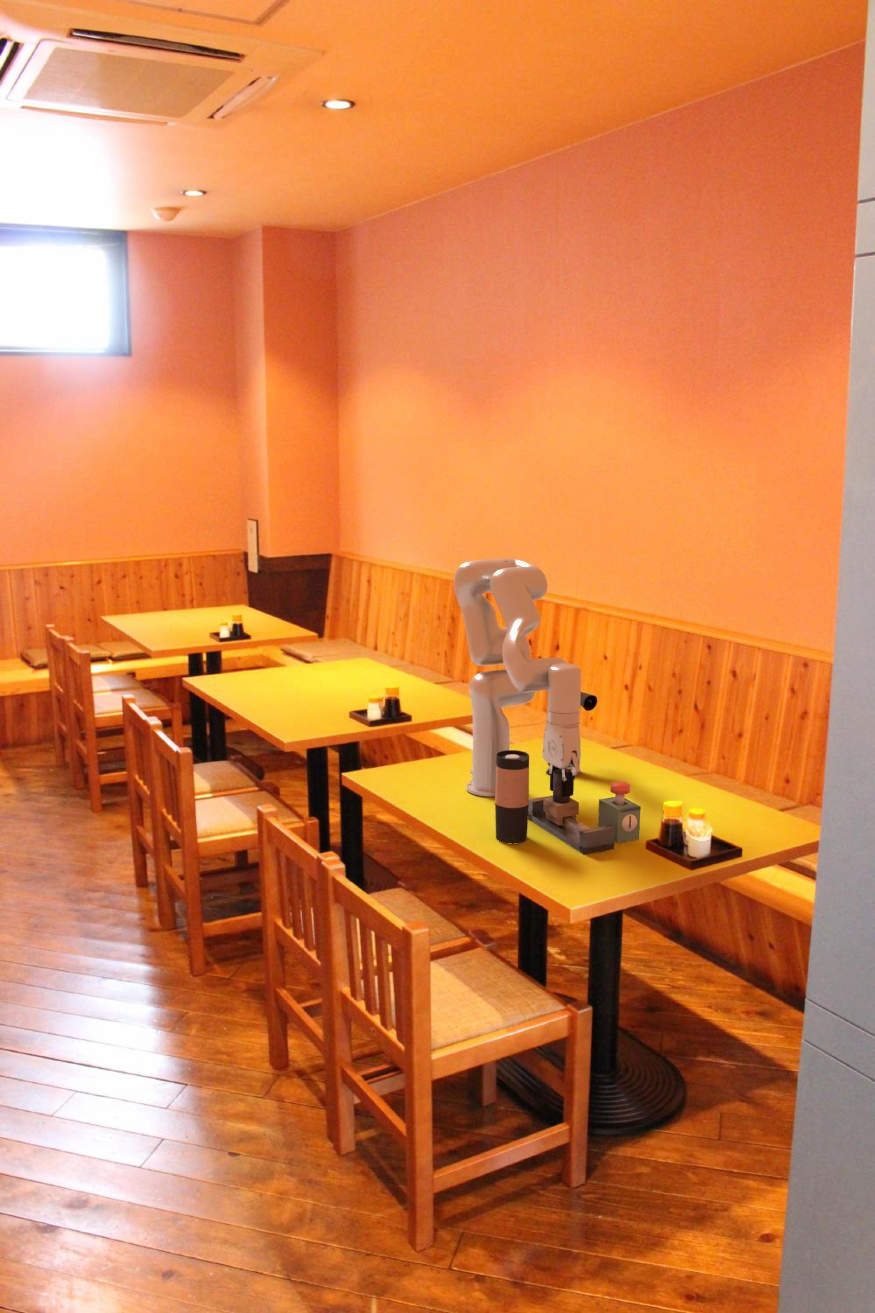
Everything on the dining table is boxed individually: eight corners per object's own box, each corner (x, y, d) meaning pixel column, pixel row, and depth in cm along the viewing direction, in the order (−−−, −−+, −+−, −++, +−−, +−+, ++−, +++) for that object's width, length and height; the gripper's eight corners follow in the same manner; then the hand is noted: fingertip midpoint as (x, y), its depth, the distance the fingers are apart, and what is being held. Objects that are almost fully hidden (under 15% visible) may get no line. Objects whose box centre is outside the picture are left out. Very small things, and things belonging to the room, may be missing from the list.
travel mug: (494, 832, 256) (495, 749, 252) (527, 832, 255) (528, 750, 251) (495, 844, 248) (496, 759, 244) (528, 844, 248) (530, 759, 244)
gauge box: (597, 832, 256) (599, 799, 254) (619, 828, 258) (620, 796, 257) (618, 844, 248) (619, 810, 247) (640, 840, 251) (641, 807, 249)
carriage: (543, 818, 260) (544, 769, 257) (565, 814, 262) (566, 766, 260) (556, 826, 254) (557, 777, 252) (578, 822, 257) (579, 773, 254)
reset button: (606, 806, 253) (606, 783, 252) (622, 803, 255) (622, 780, 254) (616, 812, 249) (617, 788, 248) (632, 809, 251) (633, 786, 250)
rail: (528, 819, 264) (528, 799, 263) (556, 814, 268) (557, 794, 267) (583, 854, 242) (584, 833, 241) (614, 849, 245) (614, 827, 244)
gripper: (531, 710, 259) (529, 785, 263) (568, 727, 244) (566, 806, 248) (558, 707, 262) (556, 781, 266) (597, 724, 247) (594, 801, 251)
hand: (561, 792), depth 257 cm, fingers closed on carriage, 4 cm apart
